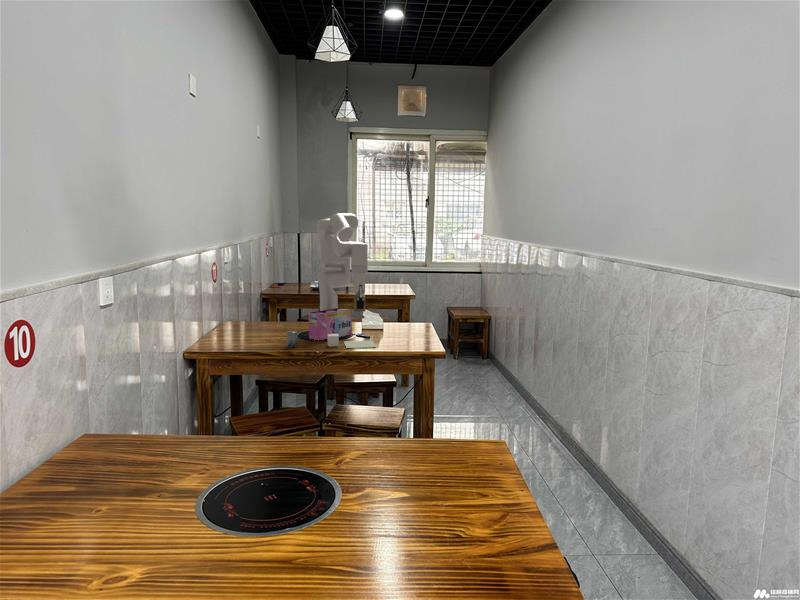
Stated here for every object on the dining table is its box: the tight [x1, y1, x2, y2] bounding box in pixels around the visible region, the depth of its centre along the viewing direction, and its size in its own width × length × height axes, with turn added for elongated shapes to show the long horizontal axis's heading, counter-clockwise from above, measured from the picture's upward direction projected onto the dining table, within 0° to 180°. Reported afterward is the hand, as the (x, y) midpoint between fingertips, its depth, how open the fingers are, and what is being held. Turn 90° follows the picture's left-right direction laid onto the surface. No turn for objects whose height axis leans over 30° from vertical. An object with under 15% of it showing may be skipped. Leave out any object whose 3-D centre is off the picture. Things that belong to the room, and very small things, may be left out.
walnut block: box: [353, 294, 367, 312], centre depth 263 cm, size 5×5×7 cm
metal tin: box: [286, 330, 299, 348], centre depth 261 cm, size 5×5×7 cm
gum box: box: [308, 307, 353, 342], centre depth 284 cm, size 24×8×14 cm, turn 138°
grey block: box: [326, 334, 340, 347], centre depth 265 cm, size 5×5×5 cm
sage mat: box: [343, 340, 377, 349], centre depth 266 cm, size 14×14×1 cm
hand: (359, 307), depth 263 cm, fingers closed on walnut block, 5 cm apart
